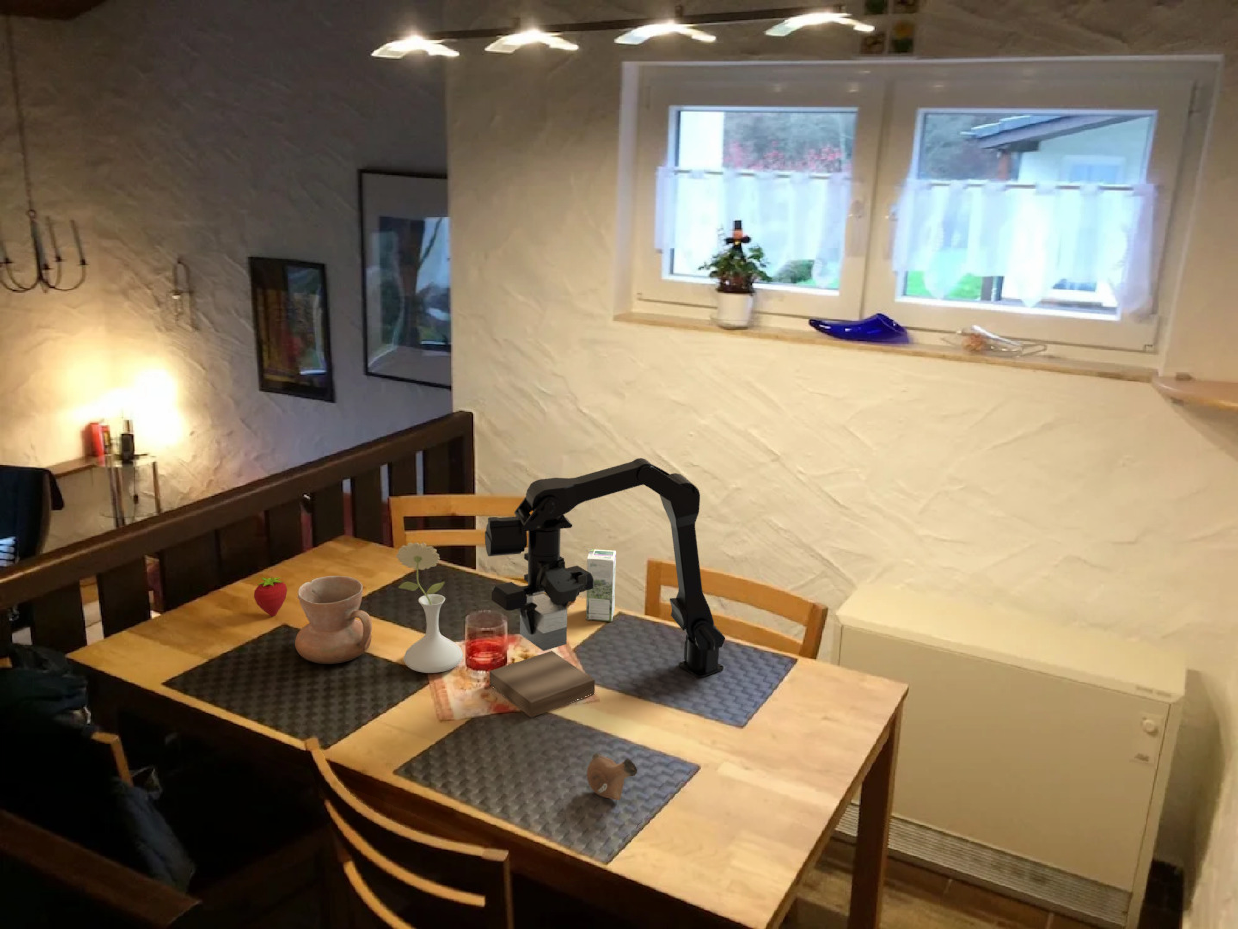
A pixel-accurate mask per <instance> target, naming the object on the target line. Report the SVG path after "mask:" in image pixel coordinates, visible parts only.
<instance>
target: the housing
mask: <svg viewBox="0 0 1238 929" xmlns="http://www.w3.org/2000/svg"><path fill="white" fill-rule="evenodd" d="M533 603H535V604H536V605H537V607H536V608H535V610H534V631H533V634H532V635H531V634H529V633H528V631H527V629H526V626H525V624H524V622H523V620H522V618H521V615H520V614H519V635H520V636H522V637H523V638H524V639H526V640H527V641H529V642H530V643H532V644H533V645H534V646H535V647H537V648H538V649H540V650H541V651H542V652H546V651H549V650H551V649H552V650H553V649H555V648H559V647H562V646H565V645H567V642H568V641H567V640H568V639H567V638H568V633H567V632H568V628H567V627H568V608H567V607H566V608H565V607H563V606H562V605H555V604H553V603H552V601H551V599H550V598H549V596H548V595H547V594H546V593H539V594H535V595H533Z"/></svg>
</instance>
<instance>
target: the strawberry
mask: <svg viewBox="0 0 1238 929" xmlns="http://www.w3.org/2000/svg"><path fill="white" fill-rule="evenodd" d="M281 578H282V576H281V577H279V576H278V577H268V578H266V577H261V579H262V582H260V583H257V587H256V588H255V590H254V594H253V598H254V600H255V603H256V604H257V606H258V607H259V608H260V609H261V610H262V611H264V612H265V613H266V614H268V616H270V617H275V616H277V614H278V613H279V610H280V609H281V608H282V606H283V604H284V602H285V600H286V597H287V593H288V588H287V585H286V583H285V582H284V581H281V580H279V579H281Z"/></svg>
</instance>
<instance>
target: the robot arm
mask: <svg viewBox="0 0 1238 929" xmlns="http://www.w3.org/2000/svg"><path fill="white" fill-rule="evenodd" d="M639 486H645V487H647V488H649V489H650V490H652V491H653V492H654V493H657V494H658V495H659V498H660V501H661V504H662V507H663V510H664V511H665V513H666V516H667V518H668V520H669V522H670V529H671V536H672V537H671V538H672V545H673V551H674V552H673V553H674V562H675V569H676V577H677V587H678V592H677V594H676V597H672V598H669V603H670V606H671V614H670V616H671V618H672V619H673V620H674V621H675V623H676V624H677V625H678V626H679V628H680V629H681V631H683V632H684V633H685V634H686V635H685V640H684V649H683V653H684V654H683V661H680V662H678V666H679V667H680V668H682V669H684V670H685V671H687V672H689V673H690V674H692V675H693V676H695V677H697V678H699V679H701V678H704V677H707V676H710V675H713V674H715V673H717V672H720V671H723V670H724V665H723V664H721V663H719V656H720V655H719V653H720V648H722V647H723V645H724V643H725V642H726V641H725V640H726V637H725V635H724V634H723V633H722V632H721V631H720V630H719V629H718V628H717V626H716V625H715V621H714V617H713V615H712V611H711V609H710V606H709V603H708V601H707V599H706V597H705V594H704V592H703V584H702V575H701V568H700V558H699V549H698V541H697V532H696V530H697V529H696V522H697V519H698V517H699V513H700V507H701V506H700V503H701V494H700V490H699V488H698V487H697V486H696V485H695V484H693V482H691V480H689V479H687V477H685V476H683V474H680V473H675V472H674V473H669V472H667V471H665V470H663V469H662V468H660V467H659V466H657V465H655V464H652V463H651V462H650V461H648V459H646V458H643V457H640V458H639V457H638V458H636V459H634V460H632V461H629V462H626V463H625V462H624V463H622V464H618V465H615V466H611V467H608V468H605V469H601V470H597V471H594V472H591V473H586V474H584V475H580V476H576V477H569V478H568V477H567V478H566V477H552V478H551V477H549V478H543V479H542V478H541V479H537V480H535V481H532V483H530V484H529V486H528V488H527V489H526V493H525V497H524V498H523V500H522V501H521V502H520V504H519V505H518V507H517V508H516V509H515V510H514V513H513V514H514V515H515V516H505V517H503V516H502V517H498V516H492V517H491V516H490V517H488V518H487V524H486V528H485V531H484V542H485V544H484V545H485V550H486V554H487V556H488V557H499V556H501V557H502V556H511V555H520V554H521V553H523V552H525V550H526V548H527V552H526V553H524V554H523V555H524V556H523V559H524V560H525V561H527V573H526V574H523V580H524V581H525V582H527V585H523V586H519V585H517V584H516V583H515V582H512V581H510V582H505V583H501V584H498V585H495V586H494V587H493V588H492V589H491V601H492V602H494V603H495V604H497V605H498V606H499V607H500V608H502V609H504V610H505V611H516V610H517V611H518V613H519V616H520V615H521V618H522V620H523V622H524V624H525V626H526V629H527V631H528V633H529V634H531V635H532V634H533V631H534V610H535V608H536V607H537V605H536V604H535V603H533V596H536V595H539V594H545V595H546V596H548V597H549V598H550V599H551V601H552V603H553V604H555V605H562V606H563V607H565V608H566V609H567V606H568V604H569V603H570V602H571V603H572V602H575V601H576V600H577V597H578V596H579V595H580V593H583V592H587V590H590V589H593V588H594V578H593V576H592V574H591V573H589V572H588V571H587V569H584V568H582V567H580V566H579V565H574V566H570V567H566V562H565V558H564V557H562V556H561V531H562V529H571V528H573V524H572V523H571V521H570V520H569V519H568V517H567V516H565V514H568V513H569V512H571V511H572V510H573V509H575V508H576V507H577V506H578V505H580V504H582V503H584V502H587V501H591V500H595V499H598V498H602V497H605V496H609V495H613V494H616V493H619V492H622V491H626V490H629V489H633V488H636V487H639ZM531 512H532V513H531ZM527 532H528V533H527Z"/></svg>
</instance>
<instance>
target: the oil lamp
mask: <svg viewBox="0 0 1238 929" xmlns="http://www.w3.org/2000/svg"><path fill="white" fill-rule="evenodd" d="M591 758H592V759H591V761H590V762H589V764H588V766H587V770H586V779H587V783H588V785H589V787H590V788H591V790H592V791H593V792H594V793H595V794H597V795H598V796H599V797H602V798H607V799H610V800H615V801H619V800H621V798H622V794H623V793H622V792H623V789H624V785H625V784H624V782H625V780H626V778H628V777H635V776H636V775H637V774H638V768H637V765H635V763H633V761H632V760H631V759H630V758H626V759H625V760H624V761H622V762H620V763H616V762H615V761H614V760H612V759H611V758H609V757H606V756H603V755H602V754H601V753H598V752H595V753H594V754H593V755H592V757H591Z"/></svg>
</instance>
